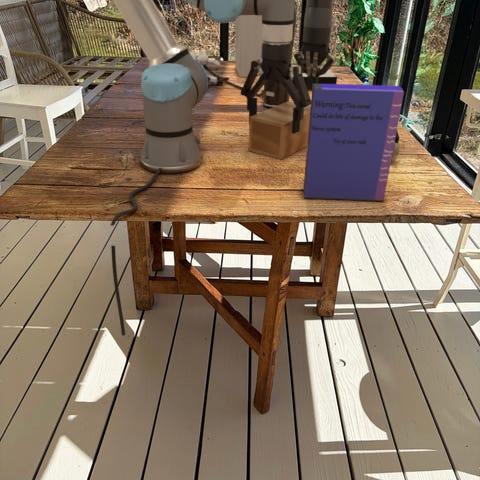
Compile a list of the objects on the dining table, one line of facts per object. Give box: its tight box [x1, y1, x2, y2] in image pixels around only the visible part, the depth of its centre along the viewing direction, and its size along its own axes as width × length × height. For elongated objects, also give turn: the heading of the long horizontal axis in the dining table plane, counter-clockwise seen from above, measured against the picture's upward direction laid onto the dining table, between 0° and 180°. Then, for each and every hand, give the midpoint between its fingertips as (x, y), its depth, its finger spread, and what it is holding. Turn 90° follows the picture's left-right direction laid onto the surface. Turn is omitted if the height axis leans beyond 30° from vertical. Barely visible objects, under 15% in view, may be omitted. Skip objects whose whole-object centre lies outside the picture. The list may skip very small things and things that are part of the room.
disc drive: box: [291, 65, 338, 91], centre depth 199 cm, size 18×22×5 cm
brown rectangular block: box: [248, 101, 311, 160], centre depth 133 cm, size 19×11×10 cm, turn 144°
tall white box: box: [234, 15, 264, 78], centre depth 210 cm, size 19×15×28 cm
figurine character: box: [392, 131, 400, 157], centre depth 128 cm, size 7×8×15 cm
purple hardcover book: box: [302, 83, 405, 202], centre depth 102 cm, size 17×5×24 cm, turn 86°
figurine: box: [207, 74, 230, 86], centre depth 193 cm, size 24×8×30 cm
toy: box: [189, 51, 221, 68], centre depth 223 cm, size 24×25×7 cm
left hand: (273, 127), depth 127 cm, fingers open, 13 cm apart
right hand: (311, 89), depth 139 cm, fingers closed
